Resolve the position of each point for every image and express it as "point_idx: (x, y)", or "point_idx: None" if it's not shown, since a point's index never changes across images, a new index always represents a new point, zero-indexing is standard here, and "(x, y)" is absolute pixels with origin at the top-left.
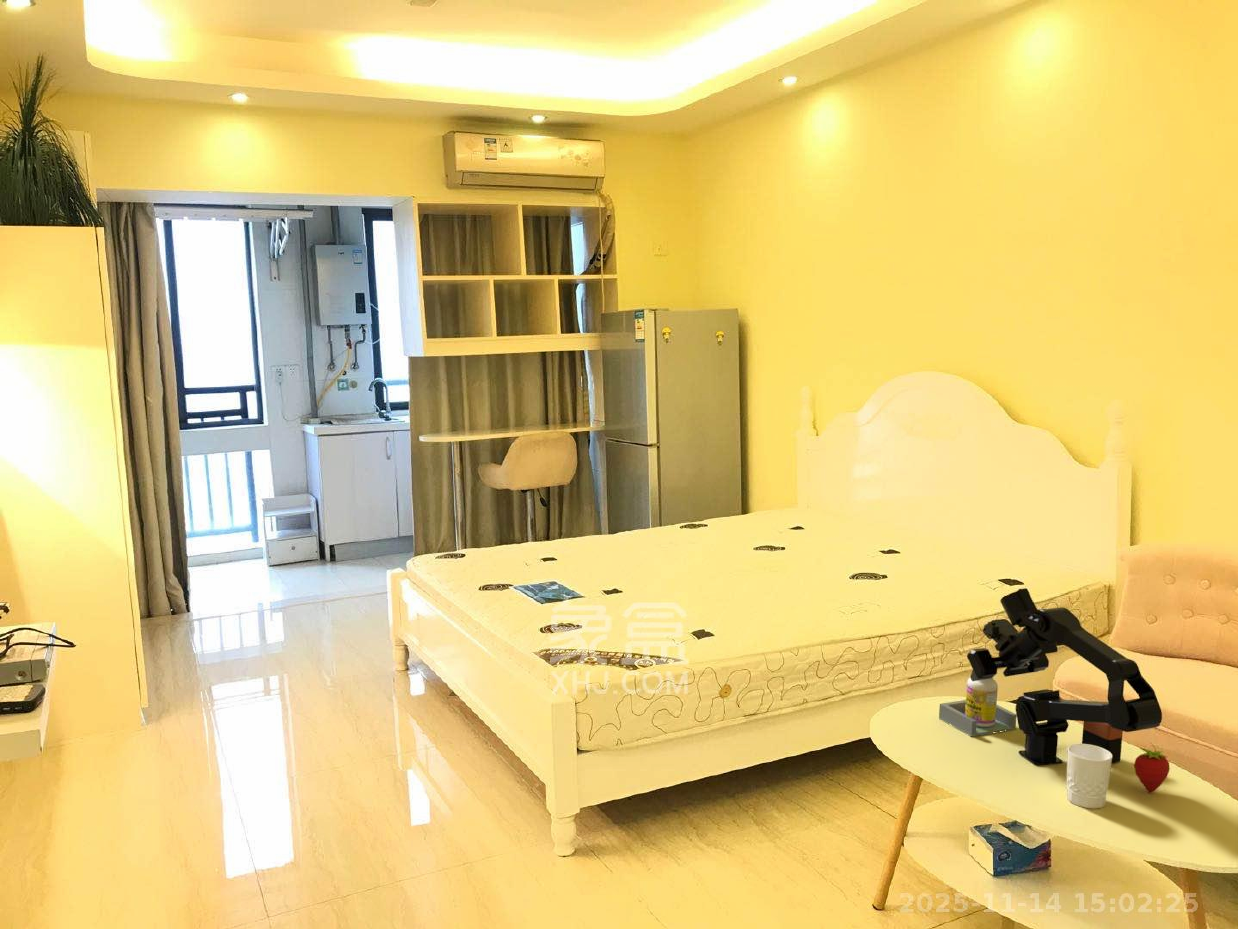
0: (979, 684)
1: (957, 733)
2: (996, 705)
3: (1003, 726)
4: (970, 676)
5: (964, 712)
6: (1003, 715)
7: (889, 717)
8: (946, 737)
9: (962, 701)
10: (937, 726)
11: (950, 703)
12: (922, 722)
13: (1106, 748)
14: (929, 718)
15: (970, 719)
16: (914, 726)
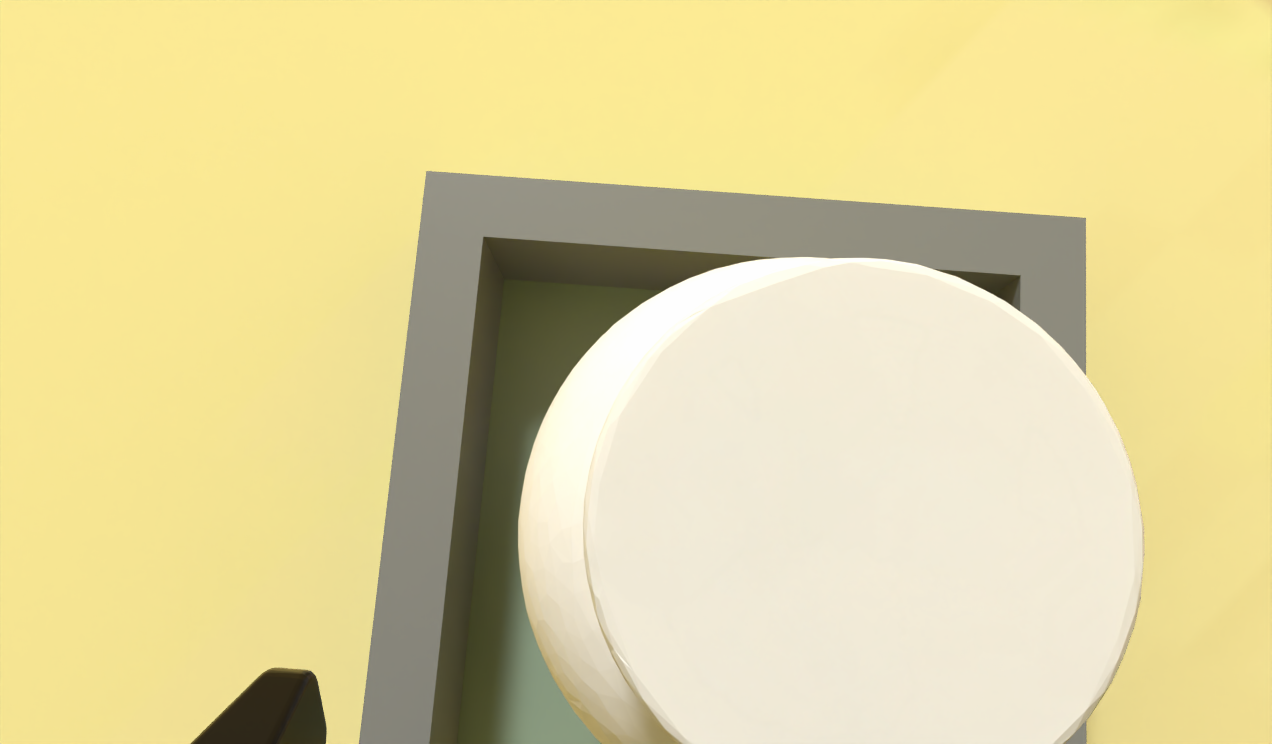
0: (584, 672)
1: (343, 612)
2: None
3: None
4: (246, 689)
5: None
6: None
7: (33, 14)
8: (154, 648)
9: (746, 219)
10: (294, 380)
11: (556, 213)
12: (233, 238)
13: None
14: (378, 186)
15: (383, 731)
16: (80, 287)
